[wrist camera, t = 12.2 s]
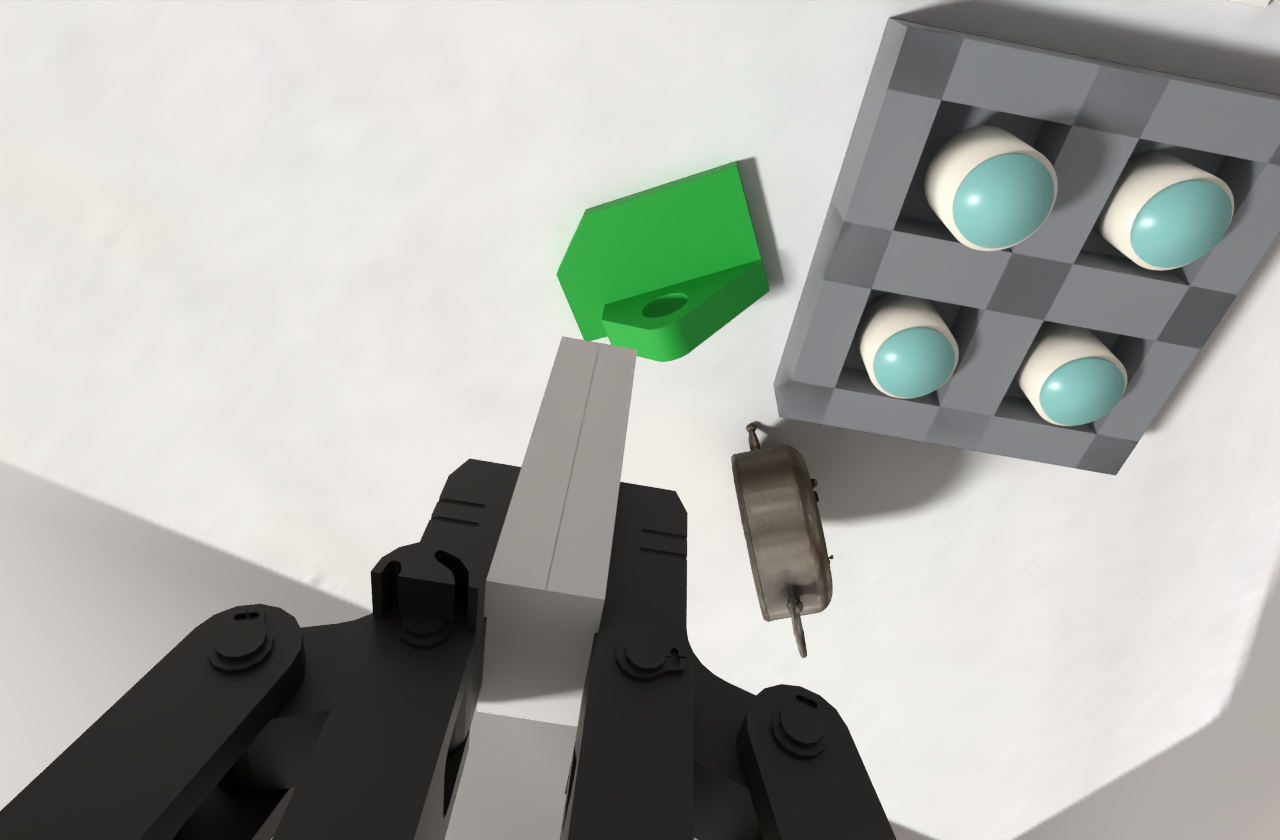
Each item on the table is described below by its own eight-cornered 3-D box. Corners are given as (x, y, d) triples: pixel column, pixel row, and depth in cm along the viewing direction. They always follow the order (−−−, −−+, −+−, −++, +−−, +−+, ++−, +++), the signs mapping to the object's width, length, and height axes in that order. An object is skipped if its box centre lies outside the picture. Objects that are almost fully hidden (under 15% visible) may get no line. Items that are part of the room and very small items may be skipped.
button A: (1118, 143, 39) (1162, 166, 36) (1209, 161, 40) (1261, 185, 36) (1072, 234, 42) (1108, 263, 38) (1156, 249, 42) (1200, 281, 39)
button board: (888, 17, 38) (907, 27, 34) (1300, 99, 39) (1357, 116, 35) (773, 383, 50) (779, 416, 47) (1088, 439, 51) (1115, 475, 48)
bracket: (735, 159, 42) (742, 196, 37) (767, 281, 46) (778, 331, 41) (541, 222, 45) (520, 265, 39) (587, 332, 49) (574, 386, 43)
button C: (946, 117, 37) (974, 138, 33) (1043, 135, 37) (1081, 159, 34) (909, 214, 40) (931, 244, 36) (1000, 231, 40) (1030, 262, 36)
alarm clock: (724, 414, 52) (735, 588, 38) (802, 400, 51) (843, 574, 37) (750, 530, 57) (768, 718, 44) (821, 520, 56) (861, 708, 43)
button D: (870, 284, 44) (886, 317, 41) (952, 299, 45) (975, 333, 41) (844, 357, 47) (856, 394, 43) (920, 371, 47) (939, 408, 44)
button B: (1031, 313, 45) (1061, 348, 41) (1111, 328, 45) (1148, 363, 41) (996, 383, 48) (1021, 421, 44) (1071, 396, 48) (1102, 436, 44)
